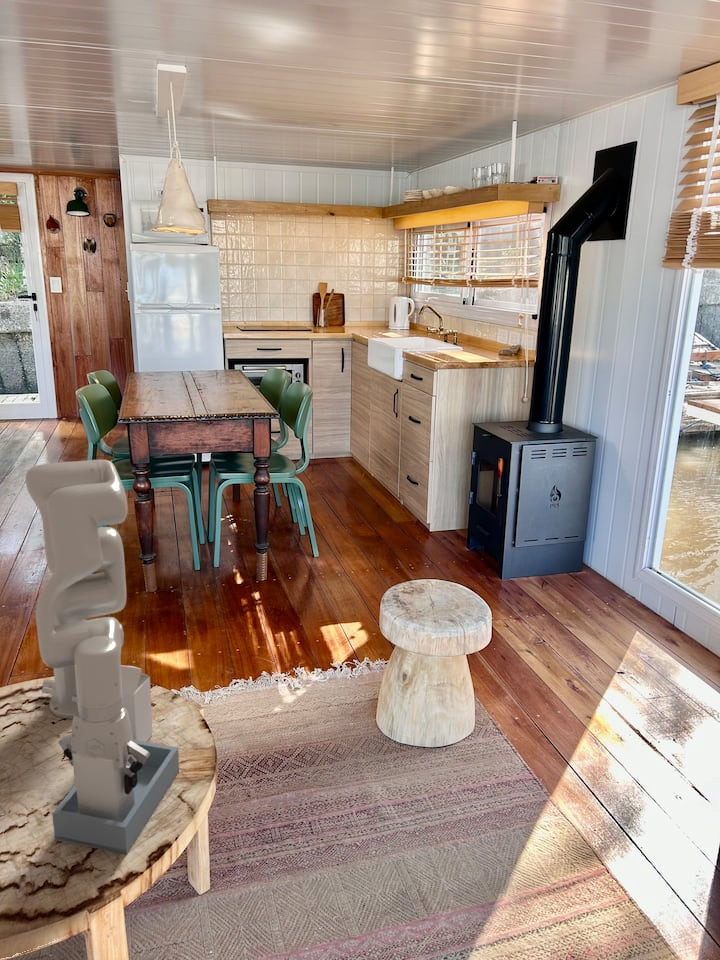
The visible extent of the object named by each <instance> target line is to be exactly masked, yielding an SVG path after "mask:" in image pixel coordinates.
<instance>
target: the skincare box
mask: <svg viewBox="0 0 720 960" xmlns="http://www.w3.org/2000/svg"><path fill="white" fill-rule="evenodd" d="M72 756H73V764H74V766H73V774H74V773H75V776H74V780H75V785H76V791H77V800H78V809H79V814H83V815H88V816H93V817H98V818H103V819H108V820H113V821H118V822H123V821H124V820H125V818H126V817H127V815H128V814H129V812H130V811H131V809H132V808H133V806H134V805H135V800H134V788H133V789H132V791H131V792H130V793H129V794H125V789H124V776H125V774H126V773H125V772H124V771H123V770H122V769H119V770H115V769H114V762H115V761H114V760H111V759H104V758H99V757H94V756H93V757H91V756H85V755H80V754H76V753H73V754H72ZM126 763H127V764H128V765H129V766H131V764H130V763H129V762H128V760H127V762H126Z"/></svg>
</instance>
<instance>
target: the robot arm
mask: <svg viewBox="0 0 720 960" xmlns="http://www.w3.org/2000/svg"><path fill="white" fill-rule="evenodd" d="M24 480H25V485H26V489H27V491H28V493H29V496H30V498H31V500H32V501H33V502H34V504H35V505H36V507H37V509H38V511H39V513H40V515H41V519H42V520H41V521H42V529H43V541H44V548H45V549H44V550H45V559H46V564H47V568H48V569H49V572H51V573H52V575H51V576H50V578H49V579H48V580H47V581H46V583H45V585H44V587H43V588H42V590H41V592H40V593H39V597H38V598H37V599H38V600H37V603H36V608H35V621H36V624H35V625H36V631H37V633H36V634H37V641H38V647H39V653H40V657H41V660H42V662H43V664H44V665H45V666H46V667H48V668H51V669H53V677H54V679H48V678H45V679H43V682H42V689H41V693H43V694H49V695H51V698H50V700H49V703H48V704H49V709H50V711H51V713H52V714H53V715H55V716H57V717H59V718H63V719H73V720H72V724H71V733H70V734H66V735H63V736H61V738H60V739H59V740H58V745H59V746H60V748H61V750H63V755H64V756H65V757H66V758H67V759H68V760H69V761H70V762H69V764H70V766H72V767H74V764H73V756H72V754H73V753H76V754H80V755H85V756H91V757H93V756H94V757H99V758H104V759H111V760H114V761H115V762H114V769H115V770H119V769H122V770H123V771H124V772H125V773H126V774H125V776H124V789H125V794H129V793H130V792H131V791H132V789H133V788H135V787H136V785H137V782H138V778H137V771H139V770H140V769H141V768H142V767H143V765H144V764H145V762H146V760H147V759H148V757H149V755H150V753H149V752H148V751H146V750H145V749H143V748H142V747H140V746H139V745H137V744H135V743H134V742H133V734H132V728H131V723H130V719H129V716H128V713H127V710H126V708H123V693H122V677H121V665H122V663H121V662H122V661H121V659H122V658H121V655H122V647H123V645H124V641H125V640H124V639H125V638H124V637H125V633H124V628H123V625H122V624H121V623H120V621H119V620H118V619H117V618H116V617H114V616H106V615H112V614H115V613H119V612H121V611H123V609H124V608H125V607H126V604H127V596H128V595H127V580H126V564H125V552H124V551H125V550H124V544H123V541H122V537H121V535H120V533H119V531H118V530H116V528H114V527H109V526H112V525H119V524H122V523H124V522H125V520H126V519H127V518H128V511H129V510H128V508H129V506H128V498H127V493H126V490H125V488H124V485H123V482H122V480H121V478H120V475H119V473H118V470H117V468H116V466H115V464H114V463H113V462H112V461H110V460H108V459H89V460H87V459H86V460H77V461H62V462H61V461H60V462H49V463H43V464H38V465H34V466H32V467H30V468H29V469H27V471H26V474H25V479H24ZM98 571H99V572H98ZM100 571H101V572H100ZM95 572H96V573H95ZM100 616H102V617H100ZM103 616H105V617H103ZM95 617H97V618H95ZM90 618H92V619H90ZM132 754H133V755H135V756H136V757H138V759H139V760H136V759H135V757H134V756H133V755H132ZM127 760H128V762H129V763H130V764H131V766H129V765H128V764H127V763H126V762H127ZM73 775H74V777H75V773H74V772H73Z"/></svg>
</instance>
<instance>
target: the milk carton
mask: <svg viewBox="0 0 720 960" xmlns="http://www.w3.org/2000/svg"><path fill="white" fill-rule="evenodd" d="M121 677H122V693H123V708H126V710H127V713H128V716H129V719H130V723H131V728H132V734H133V740H138V741H144V742H149V740H150V738H152V736H153V719H152V718H153V717H152V695H151V676H150V675H147V674H145V673H144V672H143V673H142V668H140V667H137V666H133V665H123V664H121Z"/></svg>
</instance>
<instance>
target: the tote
mask: <svg viewBox="0 0 720 960" xmlns="http://www.w3.org/2000/svg"><path fill="white" fill-rule="evenodd" d="M133 742H134V743H135V744H137V745H139V746H140V747H142V748H143V749H145V750H146V751H148V752H149V753H150V755H149V757H148V759H147V760H146V762H145V764H144V765H143V767H142V768H141V769H140V770H139V771H137V778H138V782H137V785H136V787H135V788H134V800H135V805H134V806H133V808H132V809H131V811H130V812H129V814H128V815H127V817H126V818H125V820H124V821H123V822H118V821H113V820H108V819H103V818H98V817H93V816H88V815H83V814H79V809H78V800H77V791H76V784H75V785H74V786H73V787H71V788H72V789H70V791H69V792H68V793H67V795H66V796H64V798H63V799H62V800H61V802H60V803H59V804H58V806H57V807H56V808H55V810H53V812H52V813H51V814H52V823H53V833H54V840H55V841H58V842H63V843H67V844H72V845H73V844H74V845H79V846H82V847H88V848H91V849H92V848H94V849H96V848H97V850H103V851H106V852H111V853H117V854H123V855H128V854H129V852H130V851H131V849H132V847H133V846H134V844H135V842H136V841H137V839H138V838H139V837H140V836H141V835H140V834H141V833H142V831H144V828H145V827H146V825H147V823H148V822H149V820H150V818H151V817H152V816H153V814H154V812H155V810H156V809H157V808H158V806H159V804H160V803H161V801H162V800H163V798H164V796H165V795H166V793H167V792H168V790H169V789H170V787H171V786H172V784H173V782H174V781H175V779H176V777H177V776H178V774H179V772H180V764H179V760H180V759H179V758H180V757H179V747H176V746H171V745H165V744H159V743H154V742H149V741H147V742H144V741H138V740H133ZM132 755H133V754H132ZM133 756H134V757H135V759H136V760H139V759H138V757H136V756H135V755H133Z"/></svg>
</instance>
